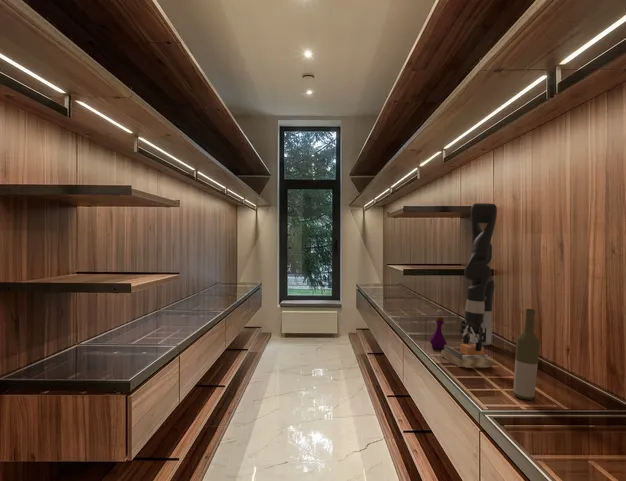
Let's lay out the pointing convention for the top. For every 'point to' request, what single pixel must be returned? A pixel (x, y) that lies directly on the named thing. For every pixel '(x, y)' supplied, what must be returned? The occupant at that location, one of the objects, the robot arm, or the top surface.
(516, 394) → the bottle
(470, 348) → the orange box with handle
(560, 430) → the top surface
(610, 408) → the top surface
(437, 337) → the perfume bottle
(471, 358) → the dock
